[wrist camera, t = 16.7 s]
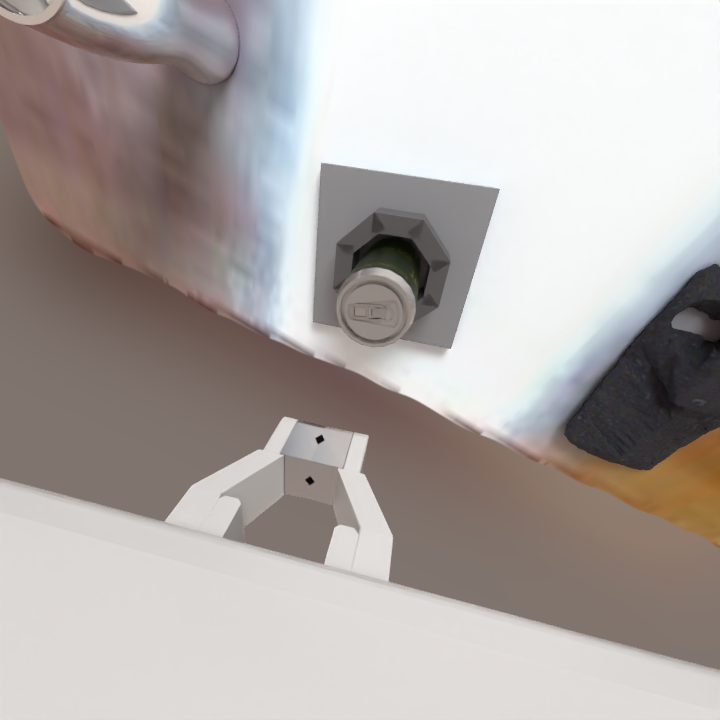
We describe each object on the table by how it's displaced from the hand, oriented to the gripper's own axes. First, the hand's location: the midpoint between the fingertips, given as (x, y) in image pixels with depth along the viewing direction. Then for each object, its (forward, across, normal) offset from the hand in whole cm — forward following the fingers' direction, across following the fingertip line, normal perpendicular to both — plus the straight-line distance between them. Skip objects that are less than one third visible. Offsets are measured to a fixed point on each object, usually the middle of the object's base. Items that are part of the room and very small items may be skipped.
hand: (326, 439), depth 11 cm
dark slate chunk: (+26, -30, +7) cm, 40 cm away
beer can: (+24, 0, 0) cm, 24 cm away
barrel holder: (+25, 0, 0) cm, 25 cm away
